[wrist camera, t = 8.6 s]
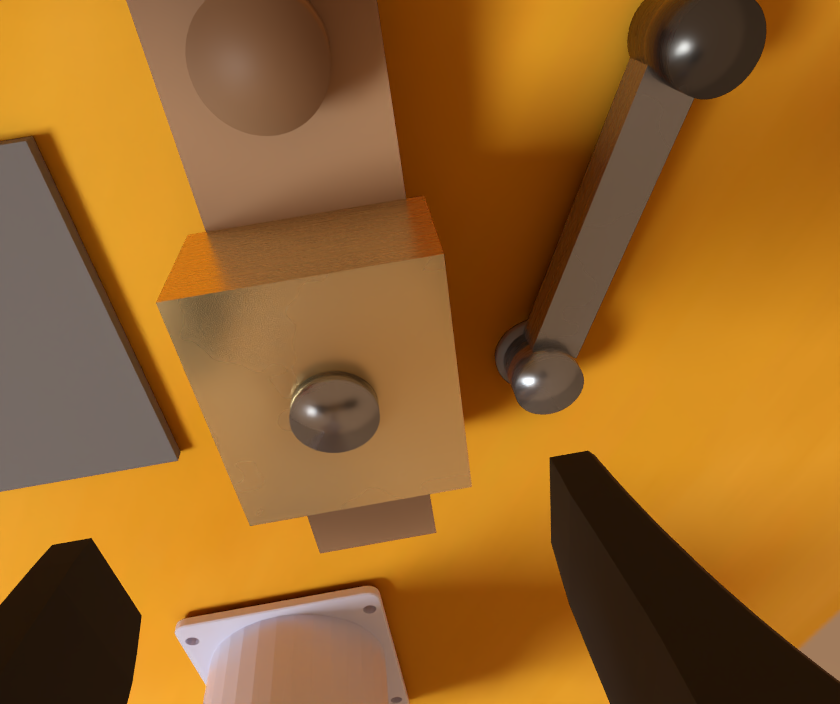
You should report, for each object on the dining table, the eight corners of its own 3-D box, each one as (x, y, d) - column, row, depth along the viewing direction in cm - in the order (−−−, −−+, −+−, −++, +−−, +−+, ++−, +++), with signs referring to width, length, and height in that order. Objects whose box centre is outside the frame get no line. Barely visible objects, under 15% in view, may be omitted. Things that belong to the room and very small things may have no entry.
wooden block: (451, 406, 17) (474, 499, 14) (262, 439, 17) (248, 539, 14) (424, 195, 14) (446, 263, 11) (187, 234, 14) (150, 313, 11)
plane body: (570, 407, 21) (619, 504, 18) (305, 454, 21) (299, 561, 17) (574, -109, 13) (662, -122, 10) (148, -42, 13) (80, -29, 10)
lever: (728, -5, 14) (785, 6, 13) (554, 387, 20) (576, 433, 18) (650, -29, 14) (697, -22, 12) (495, 379, 20) (511, 425, 18)
